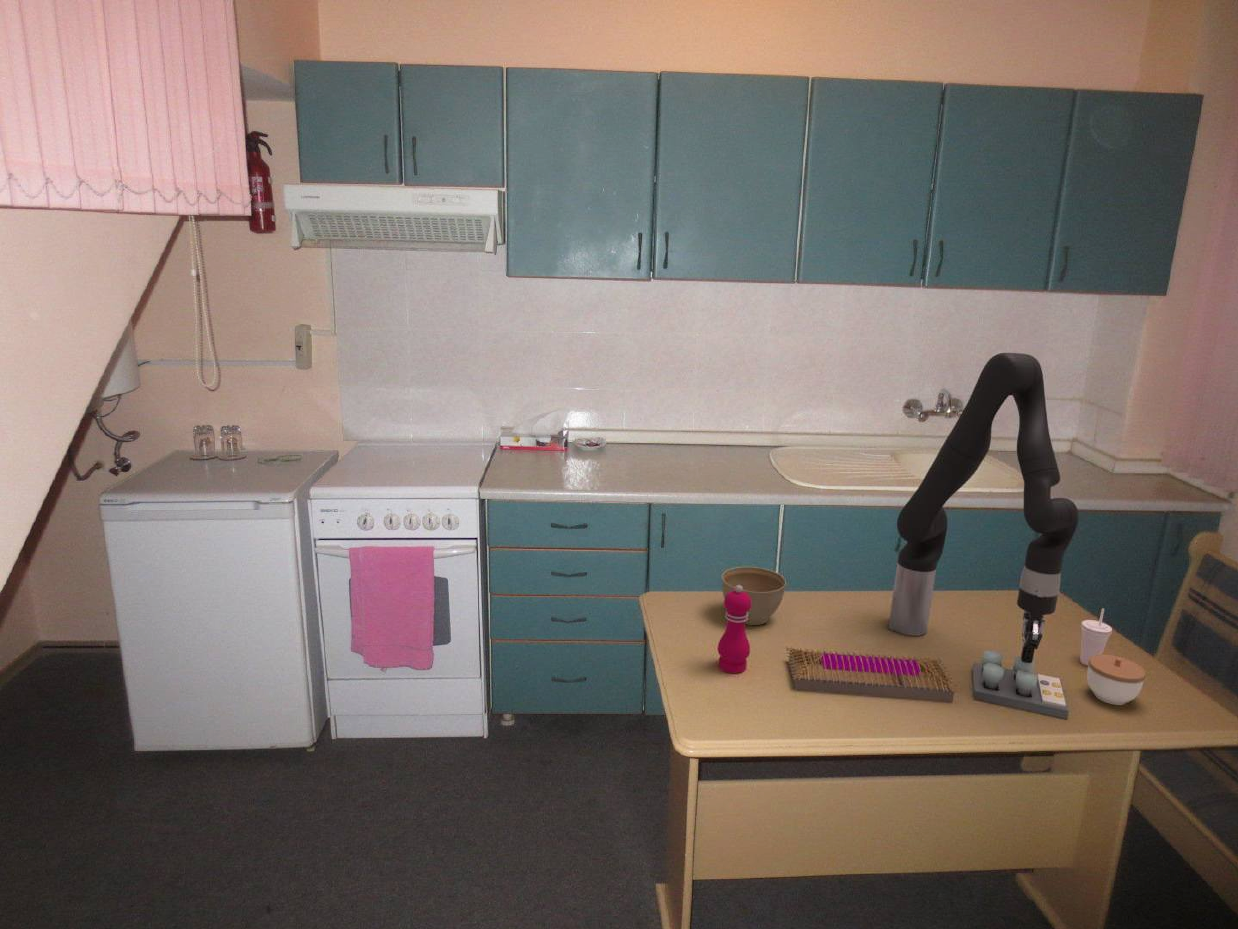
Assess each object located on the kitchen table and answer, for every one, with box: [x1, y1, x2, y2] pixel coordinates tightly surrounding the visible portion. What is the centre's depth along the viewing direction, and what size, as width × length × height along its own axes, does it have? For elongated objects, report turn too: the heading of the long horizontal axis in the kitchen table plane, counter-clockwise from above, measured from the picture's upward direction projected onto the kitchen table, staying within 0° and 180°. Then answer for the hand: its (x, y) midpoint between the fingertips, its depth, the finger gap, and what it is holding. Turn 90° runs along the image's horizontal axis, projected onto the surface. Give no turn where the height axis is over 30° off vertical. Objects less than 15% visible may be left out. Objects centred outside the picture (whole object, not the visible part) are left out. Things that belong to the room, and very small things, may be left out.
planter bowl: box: [721, 566, 787, 626], centre depth 210 cm, size 16×16×11 cm
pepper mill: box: [717, 585, 751, 674], centre depth 184 cm, size 7×7×20 cm
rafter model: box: [785, 647, 961, 703], centre depth 182 cm, size 35×14×6 cm, turn 85°
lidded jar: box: [1086, 653, 1147, 706], centre depth 179 cm, size 11×11×9 cm
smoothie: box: [1079, 608, 1113, 667], centre depth 194 cm, size 6×6×14 cm
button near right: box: [1015, 670, 1037, 696], centre depth 176 cm, size 4×4×4 cm
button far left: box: [981, 649, 1003, 667], centre depth 184 cm, size 4×4×4 cm
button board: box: [972, 661, 1069, 720], centre depth 180 cm, size 18×14×3 cm
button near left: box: [982, 663, 1004, 689], centre depth 179 cm, size 4×4×4 cm
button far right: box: [1012, 656, 1036, 674], centre depth 182 cm, size 4×4×4 cm
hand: (1026, 661), depth 181 cm, fingers closed
